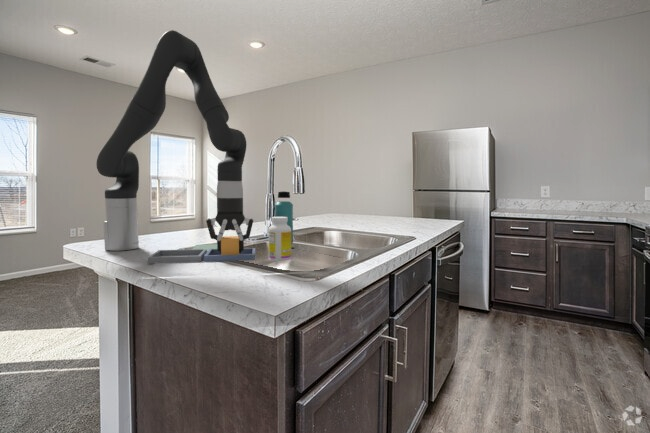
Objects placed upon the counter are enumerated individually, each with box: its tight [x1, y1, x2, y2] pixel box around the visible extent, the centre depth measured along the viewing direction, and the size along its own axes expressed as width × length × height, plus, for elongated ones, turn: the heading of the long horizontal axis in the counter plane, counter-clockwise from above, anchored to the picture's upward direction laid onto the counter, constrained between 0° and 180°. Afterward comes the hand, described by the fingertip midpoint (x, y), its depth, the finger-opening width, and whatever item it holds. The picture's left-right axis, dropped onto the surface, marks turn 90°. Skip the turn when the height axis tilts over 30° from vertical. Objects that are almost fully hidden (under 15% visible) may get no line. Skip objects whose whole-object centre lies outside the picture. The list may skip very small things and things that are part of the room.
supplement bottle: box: [268, 216, 292, 262], centre depth 103 cm, size 7×7×13 cm
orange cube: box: [221, 235, 239, 255], centre depth 105 cm, size 5×5×5 cm
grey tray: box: [146, 248, 207, 266], centre depth 103 cm, size 14×11×2 cm
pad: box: [192, 243, 217, 252], centre depth 117 cm, size 12×12×1 cm
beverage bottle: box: [273, 191, 294, 247], centre depth 119 cm, size 6×7×20 cm
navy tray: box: [203, 247, 256, 262], centre depth 105 cm, size 14×11×2 cm
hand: (230, 252), depth 105 cm, fingers closed on orange cube, 5 cm apart
